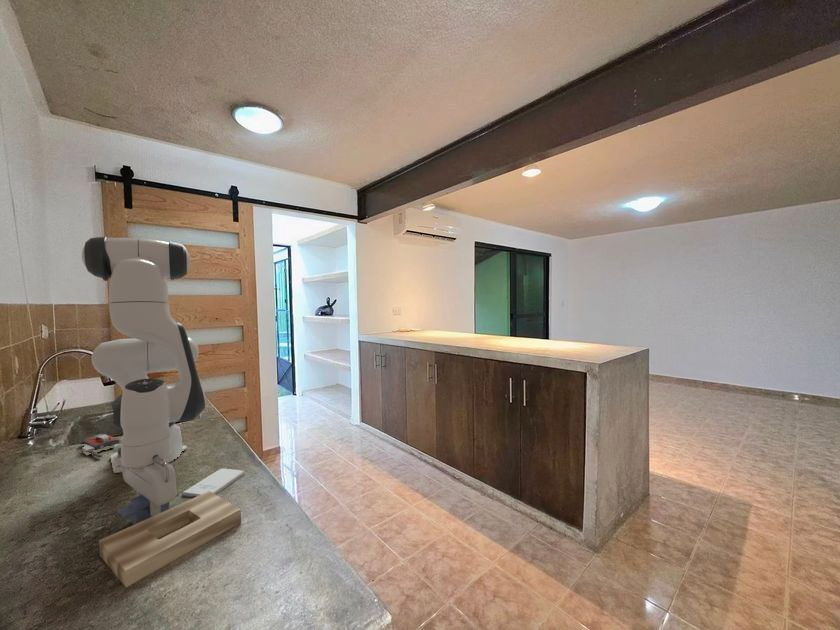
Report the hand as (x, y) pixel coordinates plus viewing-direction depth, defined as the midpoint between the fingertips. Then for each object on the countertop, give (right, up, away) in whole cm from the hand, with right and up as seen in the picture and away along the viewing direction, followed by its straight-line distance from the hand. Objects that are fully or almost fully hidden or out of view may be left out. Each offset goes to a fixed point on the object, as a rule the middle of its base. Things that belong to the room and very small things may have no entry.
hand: (149, 510), depth 76 cm
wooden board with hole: (+11, -2, -7) cm, 13 cm away
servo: (0, -2, 0) cm, 2 cm away
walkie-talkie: (-47, -2, +37) cm, 60 cm away
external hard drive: (+6, -2, +14) cm, 15 cm away
